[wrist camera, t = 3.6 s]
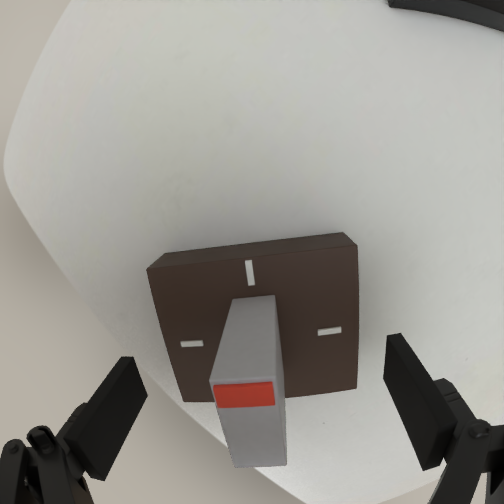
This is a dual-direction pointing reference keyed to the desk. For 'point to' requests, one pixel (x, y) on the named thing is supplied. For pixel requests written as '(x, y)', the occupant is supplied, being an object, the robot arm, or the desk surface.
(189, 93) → the desk surface
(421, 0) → the button block
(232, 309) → the dial
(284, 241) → the dial panel
